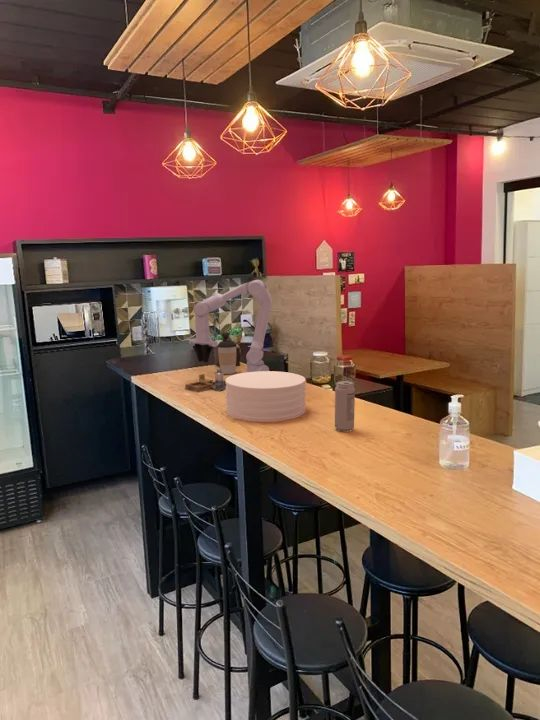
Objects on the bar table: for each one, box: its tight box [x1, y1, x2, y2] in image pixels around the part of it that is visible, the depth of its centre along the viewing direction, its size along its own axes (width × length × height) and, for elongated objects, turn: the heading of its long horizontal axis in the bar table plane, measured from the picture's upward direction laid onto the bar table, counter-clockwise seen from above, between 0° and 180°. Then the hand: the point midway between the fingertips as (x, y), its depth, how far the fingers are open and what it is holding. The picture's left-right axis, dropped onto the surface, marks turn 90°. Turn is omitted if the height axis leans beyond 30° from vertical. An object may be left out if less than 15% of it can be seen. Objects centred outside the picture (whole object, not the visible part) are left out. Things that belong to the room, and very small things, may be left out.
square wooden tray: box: [184, 380, 214, 393], centre depth 229 cm, size 8×8×2 cm
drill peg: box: [214, 368, 224, 387], centre depth 233 cm, size 3×3×8 cm
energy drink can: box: [334, 380, 356, 432], centre depth 173 cm, size 6×6×15 cm
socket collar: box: [210, 380, 227, 392], centre depth 234 cm, size 12×12×1 cm
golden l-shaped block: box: [198, 373, 214, 385], centre depth 239 cm, size 6×2×4 cm, turn 47°
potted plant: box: [213, 331, 241, 368], centre depth 277 cm, size 16×11×18 cm
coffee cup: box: [217, 340, 238, 375], centre depth 260 cm, size 9×9×15 cm
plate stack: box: [225, 370, 306, 423], centre depth 196 cm, size 28×28×12 cm
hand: (203, 361), depth 239 cm, fingers open, 2 cm apart
